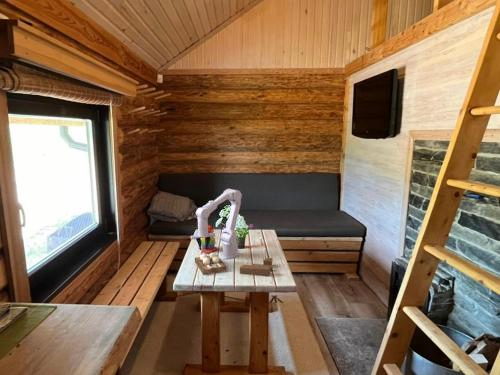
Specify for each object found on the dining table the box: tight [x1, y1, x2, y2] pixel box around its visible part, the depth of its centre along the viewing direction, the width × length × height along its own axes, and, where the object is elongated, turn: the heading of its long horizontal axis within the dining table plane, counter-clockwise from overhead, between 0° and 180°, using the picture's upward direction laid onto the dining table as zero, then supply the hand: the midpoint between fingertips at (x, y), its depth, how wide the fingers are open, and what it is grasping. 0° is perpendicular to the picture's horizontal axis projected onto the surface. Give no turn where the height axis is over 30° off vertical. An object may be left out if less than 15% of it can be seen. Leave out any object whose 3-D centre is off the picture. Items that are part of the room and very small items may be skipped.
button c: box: [209, 252, 217, 260], centre depth 199 cm, size 4×4×4 cm
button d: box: [213, 255, 220, 264], centre depth 194 cm, size 4×4×4 cm
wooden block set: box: [239, 257, 274, 277], centre depth 191 cm, size 17×6×18 cm
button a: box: [199, 253, 208, 262], centre depth 197 cm, size 4×4×4 cm
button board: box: [194, 254, 228, 276], centre depth 195 cm, size 14×20×4 cm
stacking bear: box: [200, 224, 219, 255], centre depth 219 cm, size 11×10×18 cm
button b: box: [203, 258, 210, 266], centre depth 191 cm, size 4×4×4 cm
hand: (203, 249), depth 196 cm, fingers open, 3 cm apart
